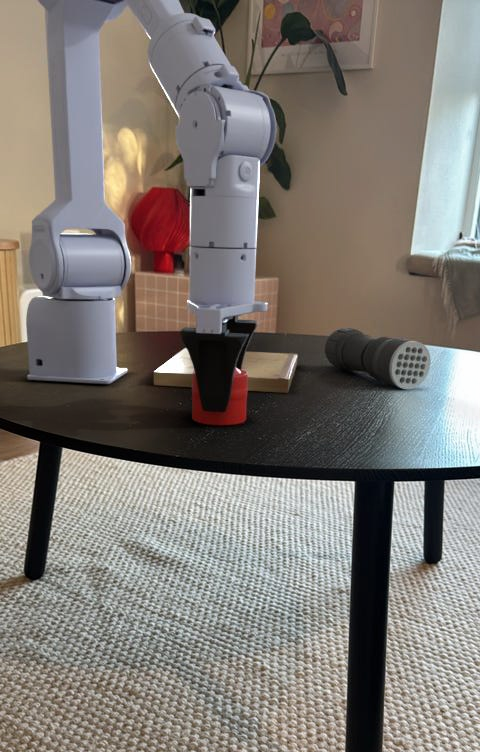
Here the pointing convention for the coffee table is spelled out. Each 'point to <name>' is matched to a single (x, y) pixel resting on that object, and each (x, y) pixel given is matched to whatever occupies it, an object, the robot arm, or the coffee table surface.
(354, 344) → the flashlight
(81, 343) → the robot arm
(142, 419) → the coffee table surface
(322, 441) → the coffee table surface
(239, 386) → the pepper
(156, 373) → the board
